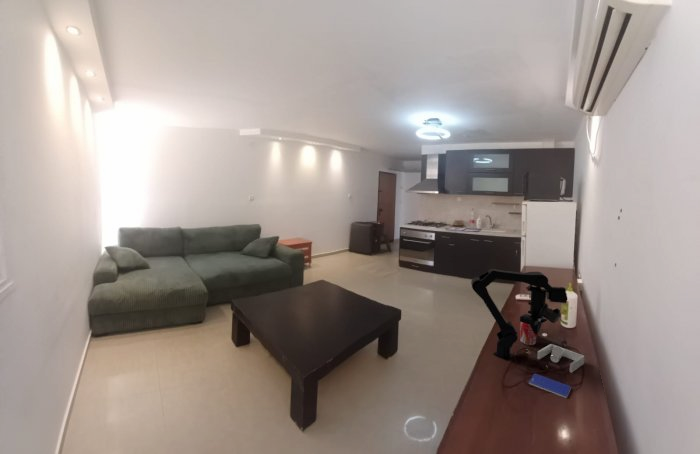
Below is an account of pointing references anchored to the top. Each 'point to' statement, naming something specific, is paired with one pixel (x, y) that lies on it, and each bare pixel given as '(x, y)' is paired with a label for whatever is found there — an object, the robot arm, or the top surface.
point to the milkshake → (556, 354)
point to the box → (567, 353)
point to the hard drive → (550, 385)
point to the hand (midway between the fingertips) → (536, 334)
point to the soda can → (527, 334)
